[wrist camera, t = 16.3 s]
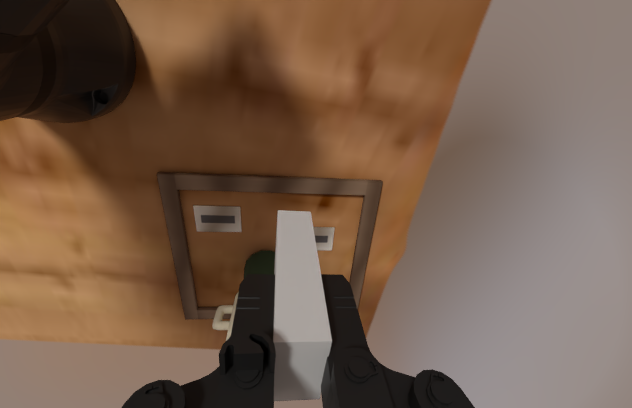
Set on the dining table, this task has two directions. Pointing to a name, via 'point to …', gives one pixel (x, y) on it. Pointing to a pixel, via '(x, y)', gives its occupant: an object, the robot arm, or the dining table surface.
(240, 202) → the dining table surface
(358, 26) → the dining table surface
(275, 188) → the label frame
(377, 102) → the dining table surface
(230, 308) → the character mug
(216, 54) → the dining table surface
